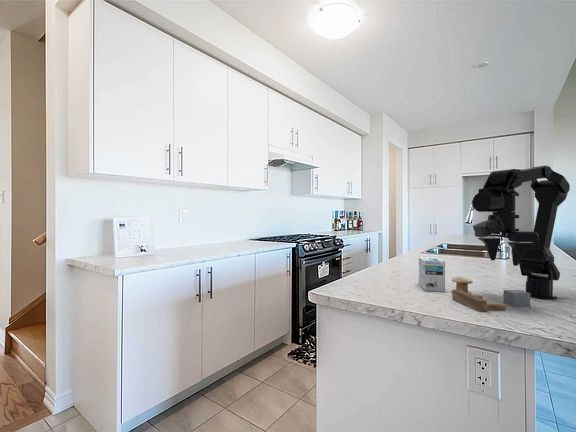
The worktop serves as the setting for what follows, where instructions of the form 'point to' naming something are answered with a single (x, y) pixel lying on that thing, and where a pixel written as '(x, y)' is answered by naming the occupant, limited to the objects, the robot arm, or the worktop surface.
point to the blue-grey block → (516, 298)
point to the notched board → (475, 302)
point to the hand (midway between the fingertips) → (503, 262)
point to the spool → (462, 284)
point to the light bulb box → (432, 274)
